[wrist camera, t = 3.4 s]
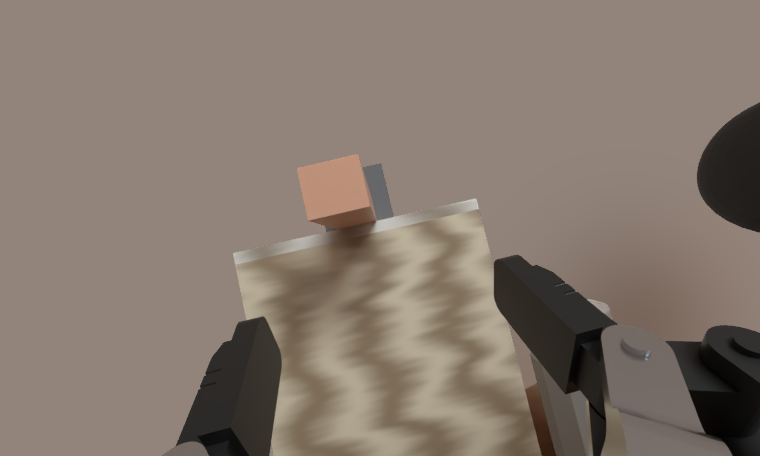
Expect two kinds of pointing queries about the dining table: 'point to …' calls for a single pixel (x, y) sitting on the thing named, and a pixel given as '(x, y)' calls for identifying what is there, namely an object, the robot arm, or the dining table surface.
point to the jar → (565, 408)
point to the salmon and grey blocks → (344, 193)
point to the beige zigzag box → (390, 340)
